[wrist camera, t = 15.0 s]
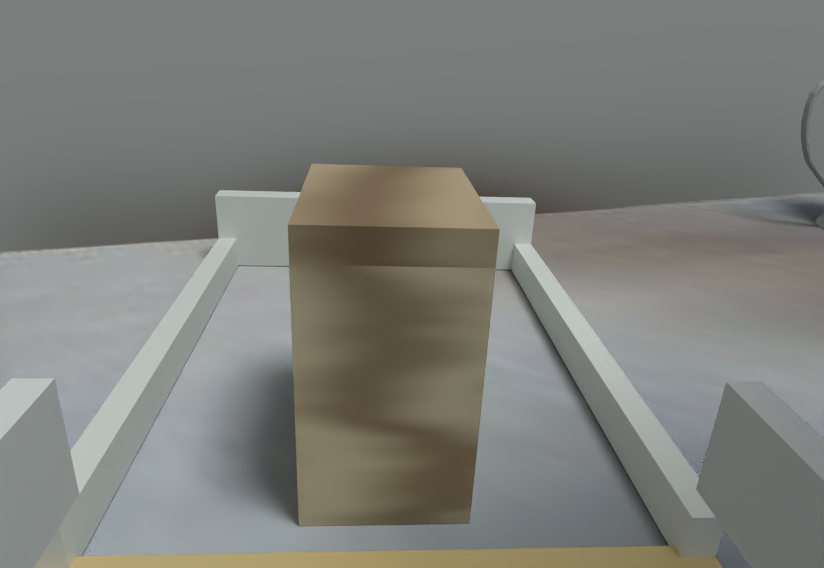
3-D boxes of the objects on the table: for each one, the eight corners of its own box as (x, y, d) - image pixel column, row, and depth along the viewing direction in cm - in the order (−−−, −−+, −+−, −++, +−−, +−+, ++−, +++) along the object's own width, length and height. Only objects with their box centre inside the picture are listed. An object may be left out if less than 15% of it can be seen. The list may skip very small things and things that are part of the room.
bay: (522, 262, 46) (530, 198, 44) (729, 588, 20) (771, 463, 18) (225, 257, 45) (220, 190, 43) (13, 605, 18) (-28, 469, 16)
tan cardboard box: (444, 397, 29) (461, 168, 25) (469, 524, 22) (499, 229, 18) (317, 397, 29) (312, 164, 24) (298, 526, 21) (287, 224, 17)
